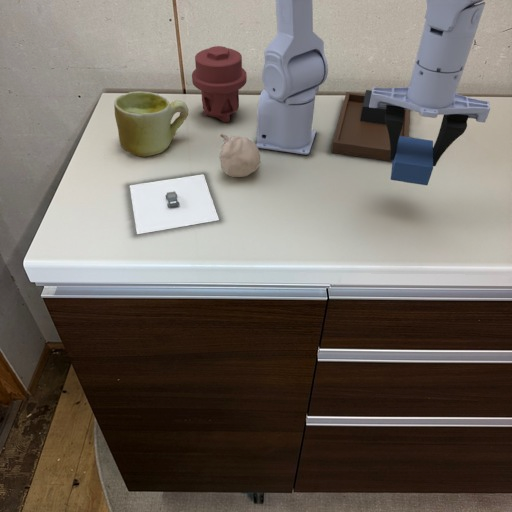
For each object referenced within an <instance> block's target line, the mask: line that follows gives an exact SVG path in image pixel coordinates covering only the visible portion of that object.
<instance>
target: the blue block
mask: <svg viewBox="0 0 512 512" xmlns="http://www.w3.org/2000/svg"><path fill="white" fill-rule="evenodd" d="M433 147H434V140H432V139H424V138H418V137H404V136H399V140H398V145H397V151H396V155H395V158H394V160H392V161H391V171H390V180H391V181H395V182H402V183H406V184H407V183H408V184H413V185H421V186H428V185H429V182H430V178H431V176H432V173H433V170H434V166H433Z"/></svg>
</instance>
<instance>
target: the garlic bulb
mask: <svg viewBox="0 0 512 512" xmlns="http://www.w3.org/2000/svg"><path fill="white" fill-rule="evenodd" d="M219 137H221V138H222V139H223V140H222V142H223V143H222V145H221V148H220V152H219V161H220V168H221V170H222V171H223V172H224V173H225V174H226V175H227V176H229V177H232V178H239V177H243V178H245V177H248V176H250V175H251V174H252V173H254V172H256V171H257V169H258V168H259V166H260V164H261V152H260V148H258V147H257V146H256V144H257V143H255V142H254V140H252V139H250V138H247V137H242V136H239V135H236V136H231V137H228V134H227V135H226V134H223V133H221V134H220V135H219Z"/></svg>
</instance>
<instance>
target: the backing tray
mask: <svg viewBox="0 0 512 512" xmlns="http://www.w3.org/2000/svg"><path fill="white" fill-rule="evenodd" d="M364 98H365V93H358V92H350V91H346V92H345V95H344V99H343V102H342V107H341V109H340V114H339V117H338V121H337V126H336V129H335V133H334V137H333V140H332V147H331V153H333V154H339V155H346V156H354V157H359V158H368V159H375V160H380V161H387V162H392V160H390V159H389V157H390V139H389V134H388V130H387V126H386V124H379V123H371V122H364V121H360V119H361V113H362V108H363V103H364ZM410 115H411V110H405V115H404V122H403V126H402V130H401V133H400V136H404V137H409V135H410V117H411V116H410Z"/></svg>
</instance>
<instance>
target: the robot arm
mask: <svg viewBox="0 0 512 512" xmlns="http://www.w3.org/2000/svg"><path fill="white" fill-rule="evenodd" d="M425 1H426V12H425V15H424V19H425V21H424V25H423V29H422V33H421V37H420V41H419V45H418V49H417V52H416V57H415V59H414V60H415V61H414V65H413V69H412V73H411V76H410V80H409V85H408V86H406V87H405V86H403V87H402V86H401V87H377V86H373V87H372V89H371V91H372V93H371V99H370V104H369V107H370V108H377V107H378V106H381V107H386V110H385V123H386V126H387V130H388V134H389V139H390V157H389V159H390V160H394V158H395V155H396V151H397V145H398V140H399V136H400V133H401V130H402V126H403V122H404V115H405V110H410V112H411V111H413V112H417V113H419V115H420V116H421V117H425V118H431V119H436V118H437V117H438V116H440V115H441V116H442V120H441V125H440V128H439V131H438V134H437V138H436V139H435V142H434V144H433V167H436V166H437V164H438V162H439V161H440V159H441V157H442V156H443V154H444V153H445V152H446V151H447V150H448V148H449V147H450V146H451V145H452V144H453V143H454V142H455V141H456V140H457V139H459V138H460V137H461V136H462V135H464V133H465V132H466V130H467V127H468V119H473V120H474V119H475V121H476V122H478V123H484V124H485V123H486V121H487V119H488V117H489V114H490V111H491V104H490V101H487V100H482V99H477V98H472V97H469V96H466V95H462V94H459V93H457V91H458V88H459V84H460V82H461V79H462V75H463V73H464V69H465V67H466V63H467V61H468V58H469V55H470V51H471V48H472V46H473V42H474V40H475V37H476V34H477V30H478V27H479V23H480V21H481V18H482V15H483V12H484V9H485V6H486V2H485V0H425ZM313 6H314V5H313V0H275V14H276V30H277V31H276V35H275V36H274V37H273V39H272V40H271V42H270V43H269V44H268V45H267V47H266V48H265V50H264V63H263V68H262V74H261V76H262V77H261V79H262V84H263V87H264V89H263V90H262V91H261V93H260V95H259V99H258V105H257V116H256V117H257V118H256V119H257V121H256V122H257V125H256V128H257V129H256V131H257V132H256V143H255V144H256V146H257V147H258V149H263V150H269V151H271V150H272V151H279V152H285V153H292V154H298V155H299V154H300V155H304V156H308V155H309V154H310V152H311V149H312V146H313V143H314V140H315V136H316V133H317V131H316V130H315V129H313V123H314V112H315V104H316V103H315V101H316V94H318V93H319V91H320V86H321V85H323V84H324V83H325V81H326V80H327V78H328V75H329V64H328V61H327V58H326V56H325V55H326V54H325V42H324V40H323V38H321V37H320V36H319V35H317V34H316V33H315V32H314V24H313V23H314V20H313V19H314V17H313V16H314V15H313V11H314V10H313V9H314V8H313Z"/></svg>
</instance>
